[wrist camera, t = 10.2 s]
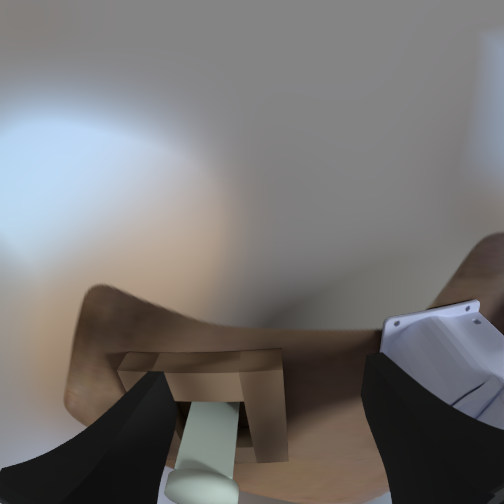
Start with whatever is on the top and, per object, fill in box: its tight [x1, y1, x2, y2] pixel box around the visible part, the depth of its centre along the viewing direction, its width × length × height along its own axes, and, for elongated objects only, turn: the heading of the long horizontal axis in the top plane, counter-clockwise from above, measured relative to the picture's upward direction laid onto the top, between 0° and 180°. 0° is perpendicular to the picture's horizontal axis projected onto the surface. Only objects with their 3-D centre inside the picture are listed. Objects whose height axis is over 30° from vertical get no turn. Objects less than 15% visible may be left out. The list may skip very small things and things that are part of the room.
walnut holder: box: [117, 348, 289, 463], centre depth 23 cm, size 12×12×2 cm
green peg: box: [164, 402, 240, 504], centre depth 19 cm, size 5×5×10 cm
